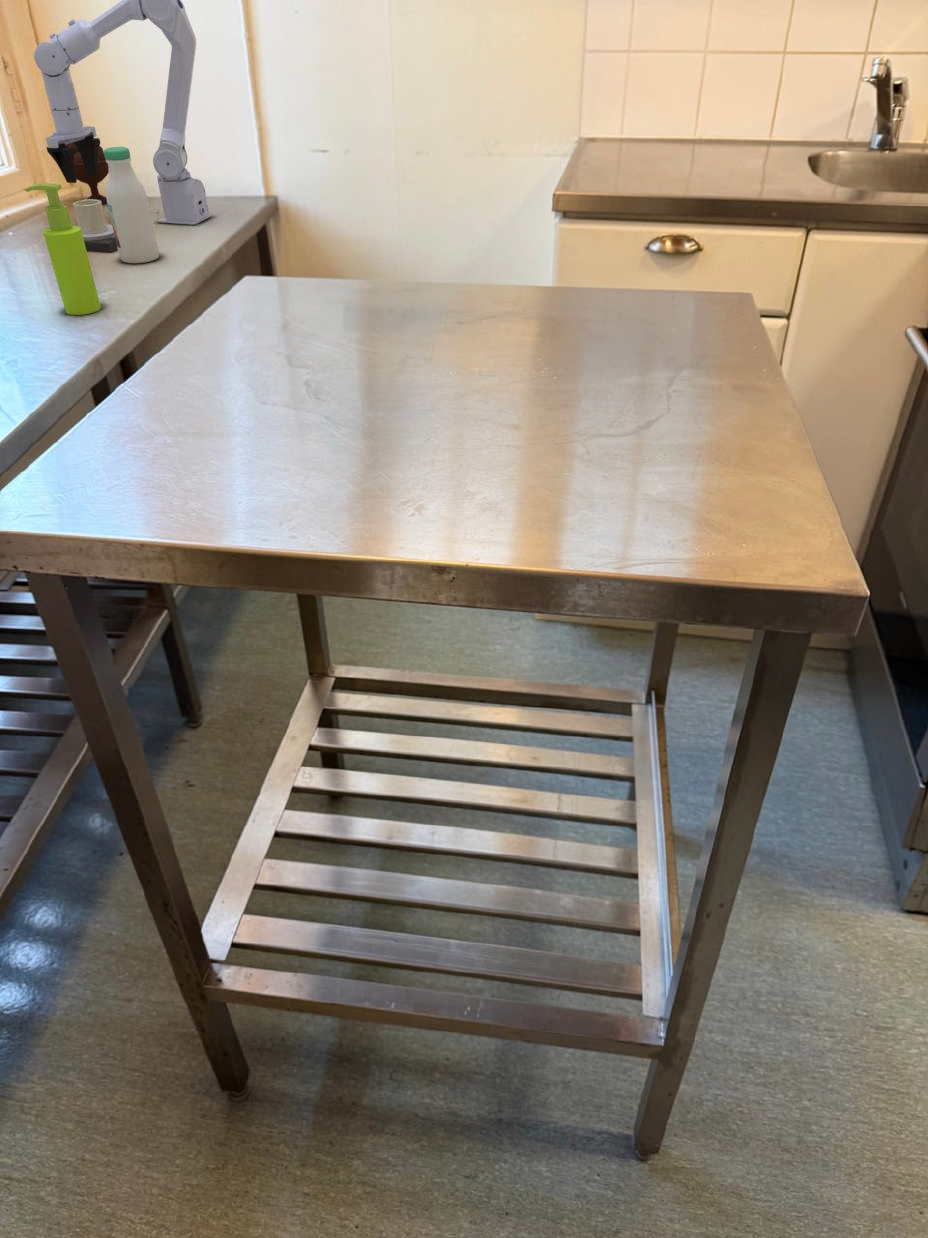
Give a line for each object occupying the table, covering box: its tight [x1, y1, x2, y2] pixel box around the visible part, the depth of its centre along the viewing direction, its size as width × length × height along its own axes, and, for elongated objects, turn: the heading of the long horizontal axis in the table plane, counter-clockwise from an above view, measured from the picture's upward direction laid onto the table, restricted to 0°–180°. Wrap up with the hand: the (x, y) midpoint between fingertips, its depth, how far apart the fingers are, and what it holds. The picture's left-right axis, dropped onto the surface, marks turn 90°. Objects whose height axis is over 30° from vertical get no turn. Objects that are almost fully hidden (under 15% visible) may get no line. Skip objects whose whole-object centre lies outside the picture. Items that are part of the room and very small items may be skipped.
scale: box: [82, 224, 118, 254], centre depth 189 cm, size 13×11×3 cm
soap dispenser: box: [24, 182, 102, 316], centre depth 150 cm, size 6×7×20 cm
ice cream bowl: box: [65, 142, 109, 205], centre depth 216 cm, size 11×11×15 cm
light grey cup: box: [72, 198, 108, 234], centre depth 187 cm, size 6×6×6 cm
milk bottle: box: [103, 146, 160, 264], centre depth 174 cm, size 8×8×20 cm
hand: (82, 178), depth 197 cm, fingers open, 7 cm apart
